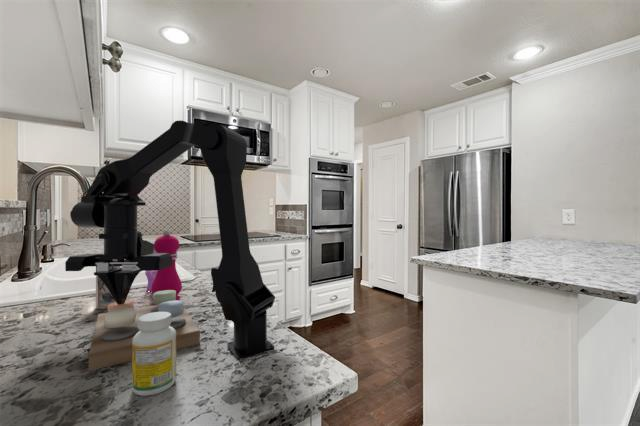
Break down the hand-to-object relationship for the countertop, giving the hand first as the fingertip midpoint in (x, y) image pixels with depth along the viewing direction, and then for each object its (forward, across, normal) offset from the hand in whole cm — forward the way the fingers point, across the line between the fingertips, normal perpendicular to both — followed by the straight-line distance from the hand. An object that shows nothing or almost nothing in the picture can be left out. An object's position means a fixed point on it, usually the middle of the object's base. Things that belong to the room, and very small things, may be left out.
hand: (121, 303), depth 59 cm
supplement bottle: (+6, -18, +19) cm, 27 cm away
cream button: (+1, -6, +8) cm, 10 cm away
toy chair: (+6, +8, -30) cm, 31 cm away
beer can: (+6, +14, -16) cm, 22 cm away
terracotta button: (+2, 0, 0) cm, 2 cm away
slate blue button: (+1, -12, +4) cm, 13 cm away
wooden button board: (+6, -6, +2) cm, 8 cm away
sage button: (+1, -7, -5) cm, 8 cm away
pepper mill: (+6, 0, -17) cm, 18 cm away
